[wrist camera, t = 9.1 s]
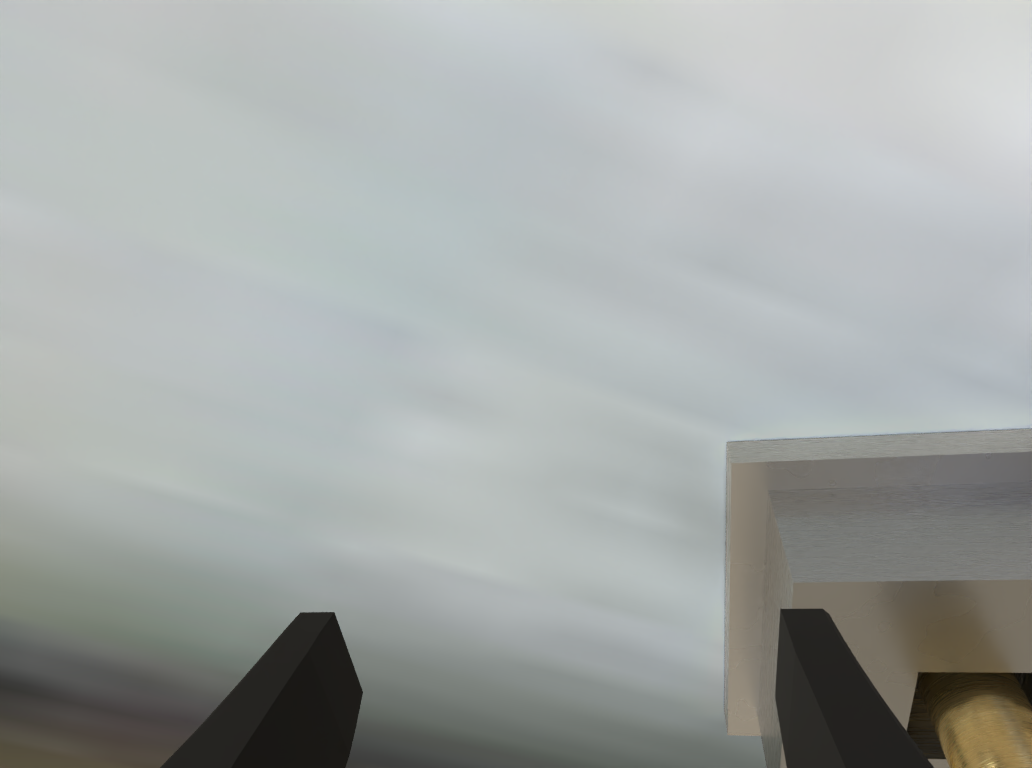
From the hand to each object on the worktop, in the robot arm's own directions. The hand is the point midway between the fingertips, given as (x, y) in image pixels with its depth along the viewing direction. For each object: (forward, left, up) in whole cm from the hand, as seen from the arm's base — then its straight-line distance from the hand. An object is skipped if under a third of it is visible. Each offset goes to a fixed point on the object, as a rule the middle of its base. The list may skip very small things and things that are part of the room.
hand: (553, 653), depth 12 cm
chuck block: (-10, +9, -10) cm, 17 cm away
